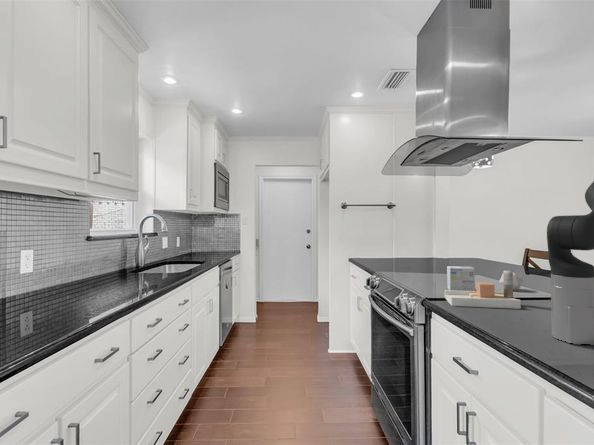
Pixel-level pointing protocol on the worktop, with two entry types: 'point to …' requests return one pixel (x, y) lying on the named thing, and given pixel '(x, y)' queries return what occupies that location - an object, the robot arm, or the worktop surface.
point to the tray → (479, 300)
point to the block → (485, 289)
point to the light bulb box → (461, 278)
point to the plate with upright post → (507, 287)
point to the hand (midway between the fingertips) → (553, 236)
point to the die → (516, 281)
